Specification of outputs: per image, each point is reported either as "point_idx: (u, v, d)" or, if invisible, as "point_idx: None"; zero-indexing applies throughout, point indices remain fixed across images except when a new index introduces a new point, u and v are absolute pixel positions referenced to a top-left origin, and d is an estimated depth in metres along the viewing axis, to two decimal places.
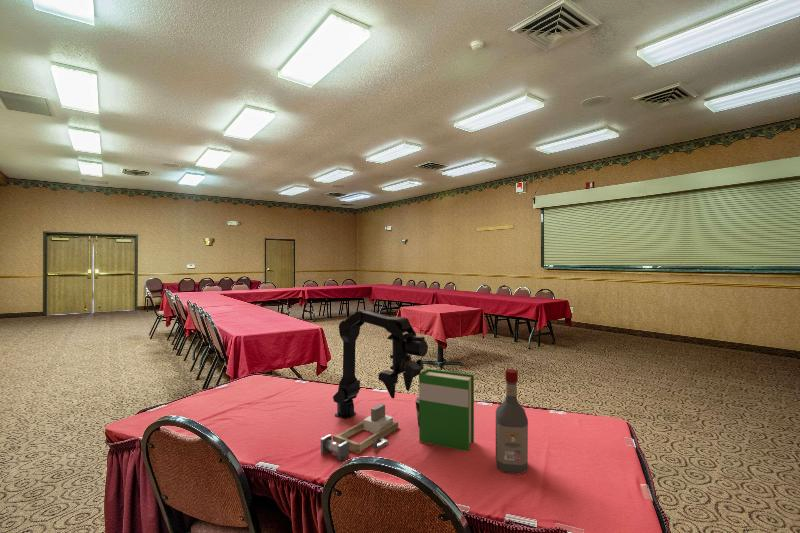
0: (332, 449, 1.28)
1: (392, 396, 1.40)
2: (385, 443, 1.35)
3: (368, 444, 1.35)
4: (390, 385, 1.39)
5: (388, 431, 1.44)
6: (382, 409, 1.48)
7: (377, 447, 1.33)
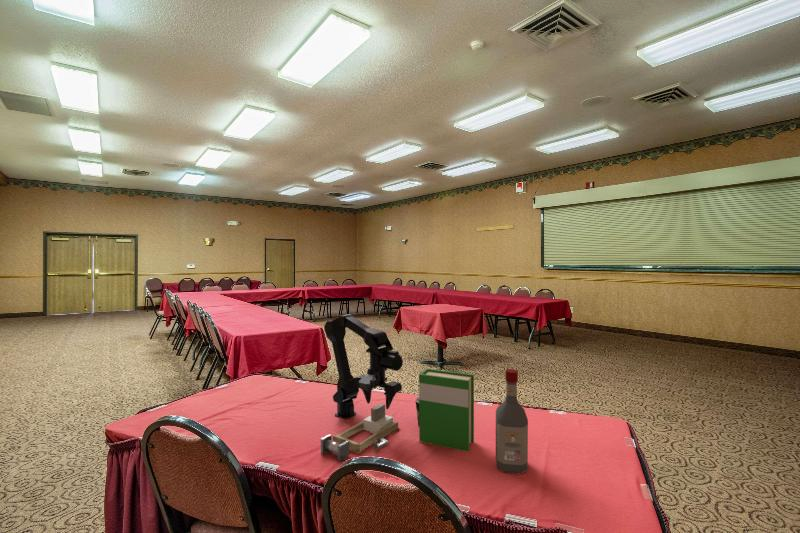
0: (332, 449, 1.28)
1: None
2: (385, 443, 1.35)
3: (368, 444, 1.35)
4: None
5: (388, 431, 1.44)
6: (382, 409, 1.48)
7: (378, 447, 1.33)
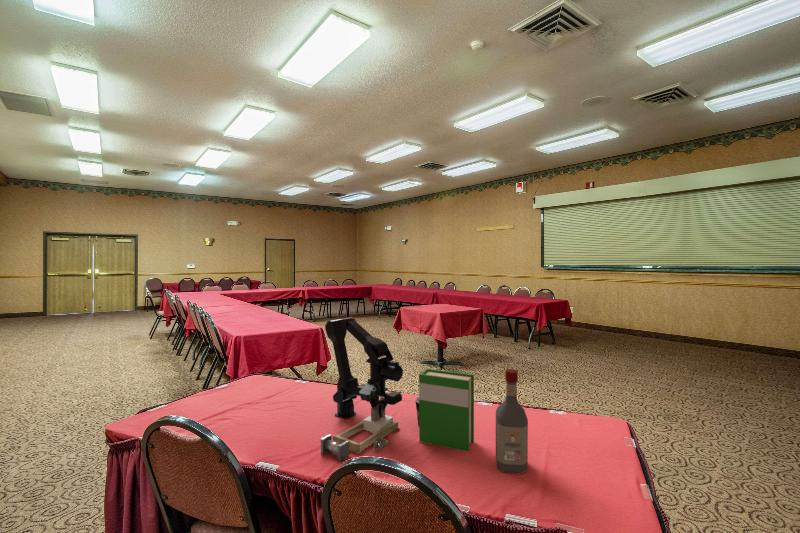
0: (332, 449, 1.28)
1: None
2: (386, 443, 1.35)
3: (368, 444, 1.35)
4: None
5: (388, 431, 1.44)
6: None
7: (378, 447, 1.33)
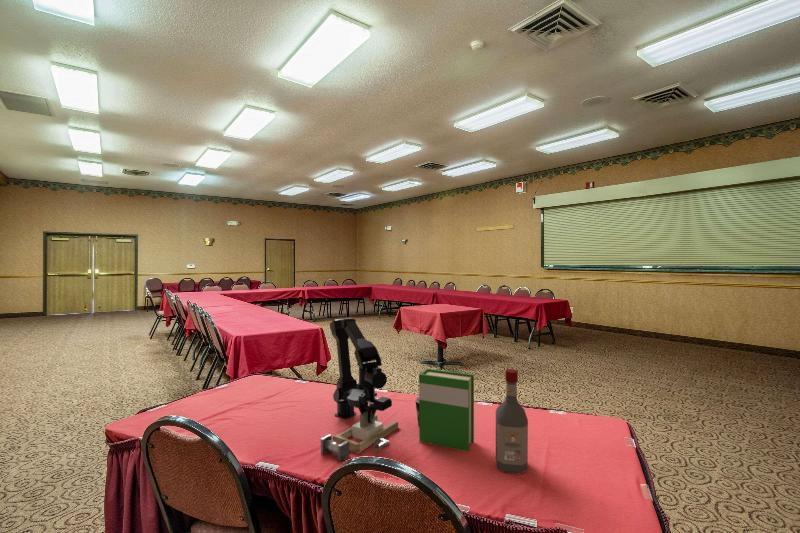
0: (332, 449, 1.28)
1: None
2: (386, 443, 1.35)
3: (368, 444, 1.35)
4: None
5: (388, 431, 1.44)
6: None
7: (379, 447, 1.33)
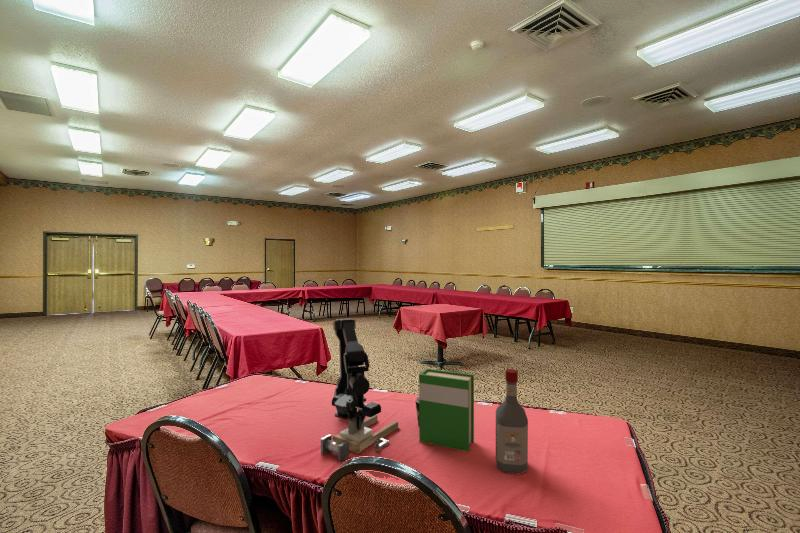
0: (332, 449, 1.28)
1: None
2: (386, 443, 1.35)
3: (368, 444, 1.35)
4: None
5: (388, 431, 1.44)
6: None
7: (379, 447, 1.33)
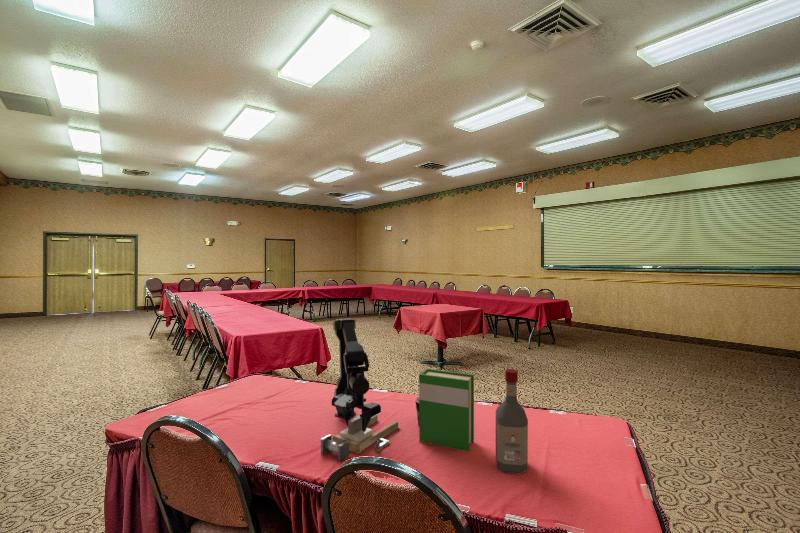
0: (332, 449, 1.28)
1: None
2: (386, 443, 1.35)
3: (368, 444, 1.35)
4: None
5: (388, 431, 1.44)
6: (360, 421, 1.38)
7: (379, 448, 1.33)
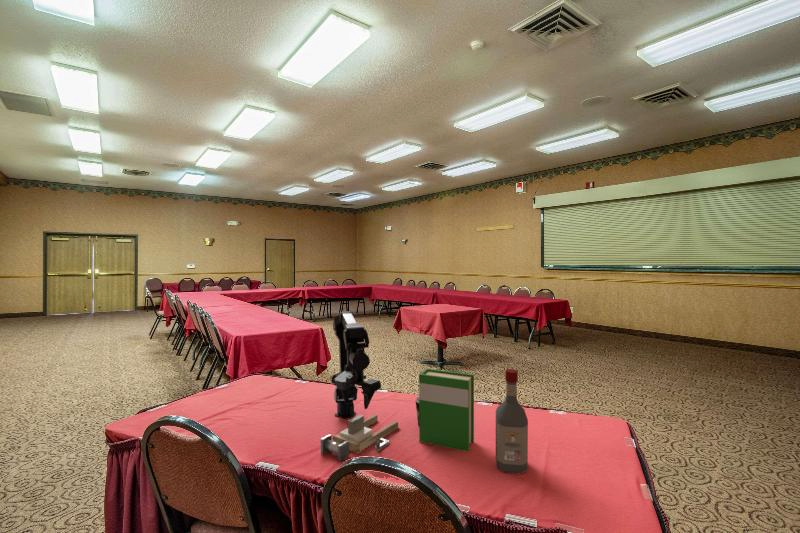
0: (332, 449, 1.28)
1: None
2: (387, 443, 1.35)
3: (368, 444, 1.35)
4: None
5: (388, 431, 1.44)
6: (360, 421, 1.38)
7: (380, 448, 1.32)
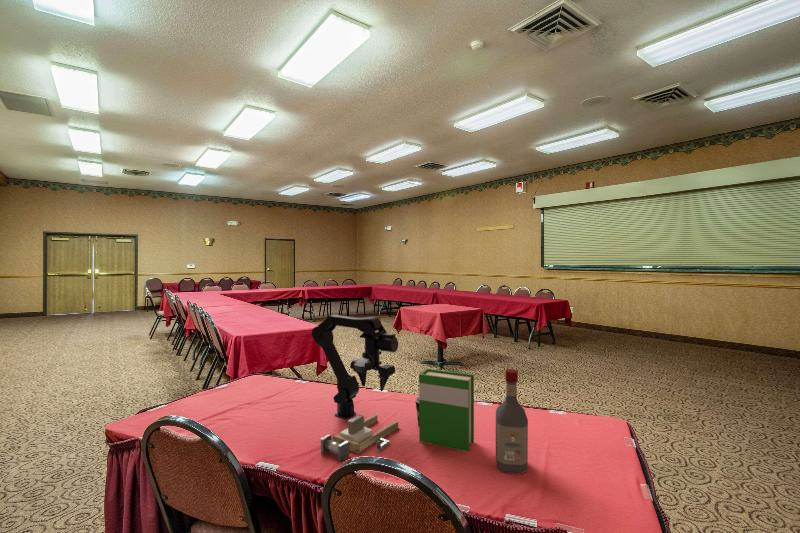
0: (332, 449, 1.28)
1: None
2: (387, 443, 1.35)
3: (368, 444, 1.35)
4: None
5: (388, 431, 1.44)
6: (360, 421, 1.38)
7: (380, 448, 1.32)
